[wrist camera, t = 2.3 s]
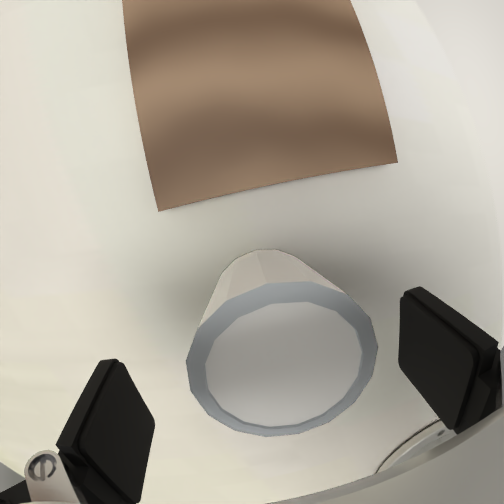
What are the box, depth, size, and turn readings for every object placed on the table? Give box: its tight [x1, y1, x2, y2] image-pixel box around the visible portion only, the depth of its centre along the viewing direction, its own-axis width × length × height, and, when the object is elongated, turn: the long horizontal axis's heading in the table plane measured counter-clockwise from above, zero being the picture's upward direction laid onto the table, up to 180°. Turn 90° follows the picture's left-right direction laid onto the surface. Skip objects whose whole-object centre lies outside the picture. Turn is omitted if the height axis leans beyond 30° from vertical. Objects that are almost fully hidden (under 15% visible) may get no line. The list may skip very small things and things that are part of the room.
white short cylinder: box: [186, 249, 378, 437], centre depth 13 cm, size 7×7×7 cm
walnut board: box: [122, 0, 398, 212], centre depth 12 cm, size 16×12×2 cm
